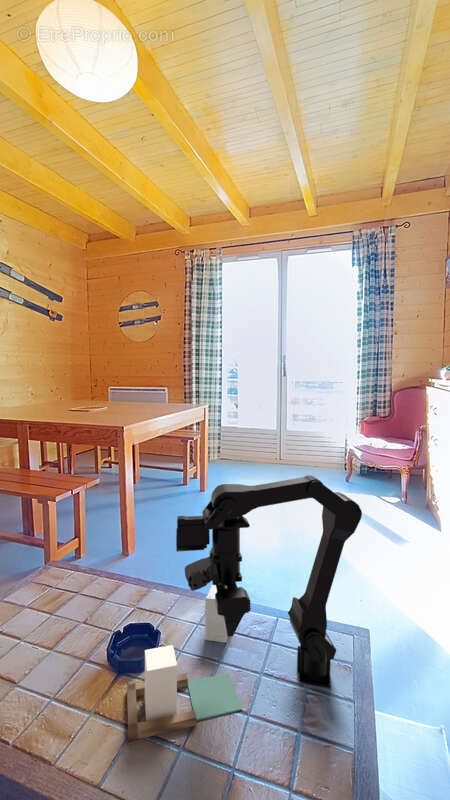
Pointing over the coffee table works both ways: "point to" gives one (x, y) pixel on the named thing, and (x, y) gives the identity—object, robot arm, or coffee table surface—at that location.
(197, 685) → the green mat
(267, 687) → the coffee table surface
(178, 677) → the brown wooden frame
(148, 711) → the cream block
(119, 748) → the coffee table surface
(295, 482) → the robot arm
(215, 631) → the small box
